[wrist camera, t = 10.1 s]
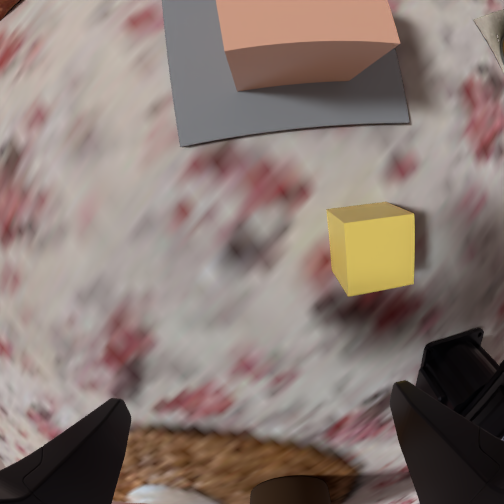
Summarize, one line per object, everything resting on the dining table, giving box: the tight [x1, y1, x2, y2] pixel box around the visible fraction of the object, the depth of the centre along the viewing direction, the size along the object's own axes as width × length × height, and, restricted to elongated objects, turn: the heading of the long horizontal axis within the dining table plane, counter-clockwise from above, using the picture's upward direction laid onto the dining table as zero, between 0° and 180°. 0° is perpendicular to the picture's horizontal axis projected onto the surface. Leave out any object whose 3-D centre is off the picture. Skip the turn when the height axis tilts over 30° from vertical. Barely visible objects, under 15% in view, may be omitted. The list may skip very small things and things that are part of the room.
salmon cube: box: [216, 0, 400, 92], centre depth 11 cm, size 7×7×7 cm
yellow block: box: [326, 202, 415, 297], centre depth 17 cm, size 4×4×4 cm
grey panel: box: [162, 0, 409, 147], centre depth 15 cm, size 14×12×1 cm
